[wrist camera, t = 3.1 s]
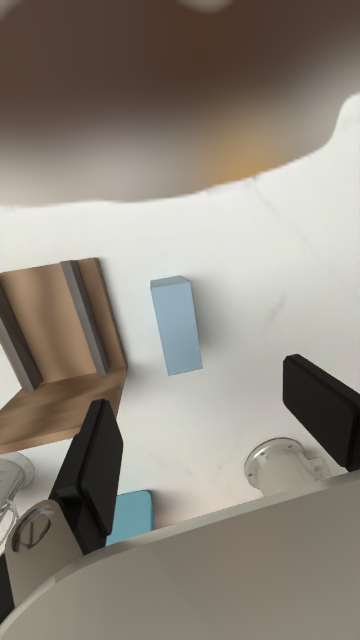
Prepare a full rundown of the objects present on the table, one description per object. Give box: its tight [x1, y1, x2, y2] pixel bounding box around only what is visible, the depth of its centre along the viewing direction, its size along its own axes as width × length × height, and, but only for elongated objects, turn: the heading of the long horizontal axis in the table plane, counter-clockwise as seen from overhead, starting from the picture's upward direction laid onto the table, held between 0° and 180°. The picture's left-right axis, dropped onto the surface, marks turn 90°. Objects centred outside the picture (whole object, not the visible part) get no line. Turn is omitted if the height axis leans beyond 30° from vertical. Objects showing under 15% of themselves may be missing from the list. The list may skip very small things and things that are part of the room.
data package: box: [106, 490, 154, 546], centre depth 32 cm, size 12×4×12 cm, turn 94°
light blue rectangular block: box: [150, 276, 203, 376], centre depth 25 cm, size 4×10×8 cm, turn 9°
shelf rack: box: [0, 258, 127, 455], centre depth 22 cm, size 14×16×12 cm
